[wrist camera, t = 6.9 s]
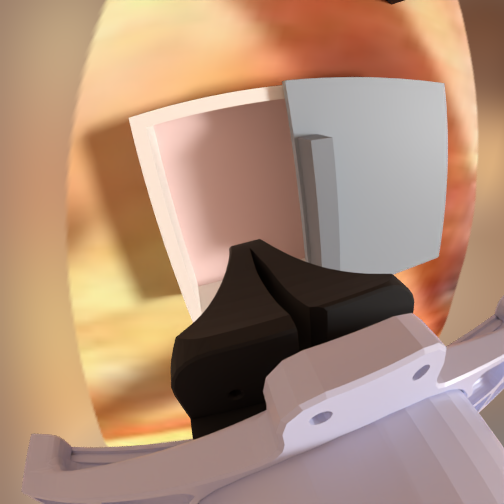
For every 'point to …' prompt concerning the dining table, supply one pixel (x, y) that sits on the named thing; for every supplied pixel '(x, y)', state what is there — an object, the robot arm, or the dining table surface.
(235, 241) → the box
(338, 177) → the lid
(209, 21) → the dining table surface
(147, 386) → the dining table surface
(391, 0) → the watch
